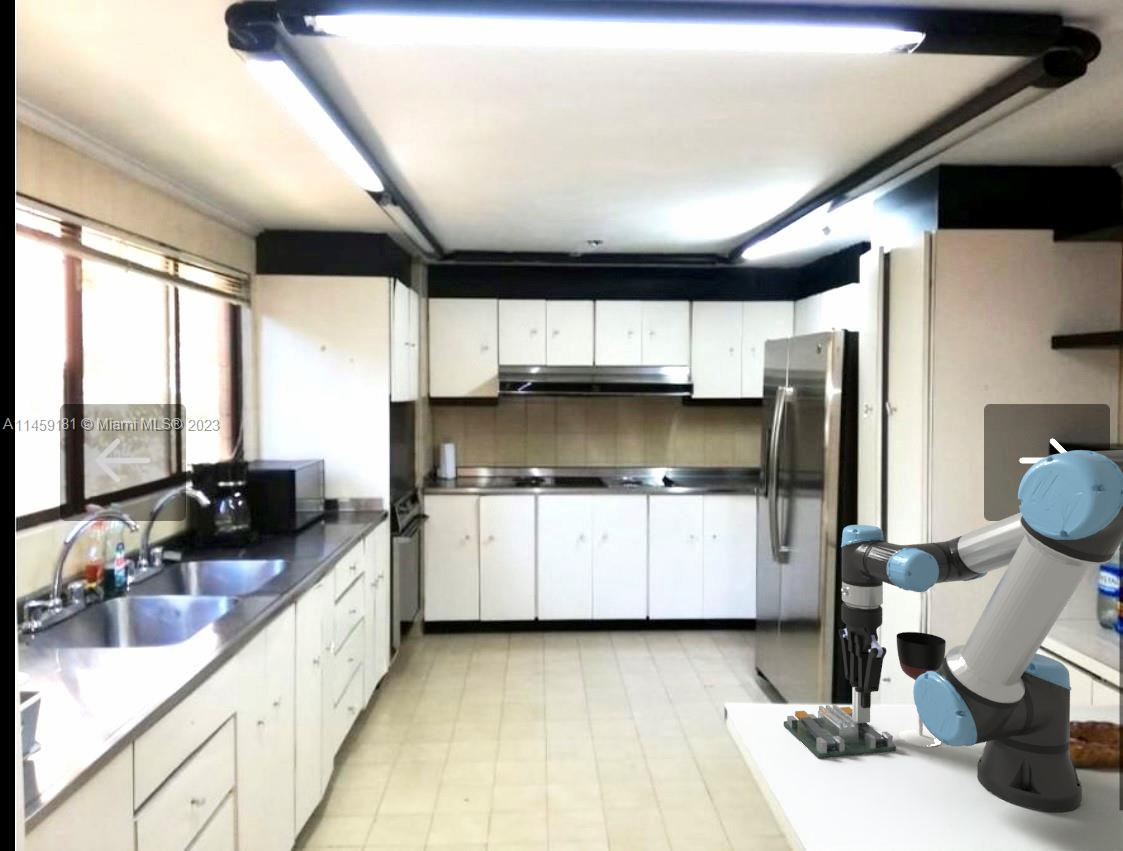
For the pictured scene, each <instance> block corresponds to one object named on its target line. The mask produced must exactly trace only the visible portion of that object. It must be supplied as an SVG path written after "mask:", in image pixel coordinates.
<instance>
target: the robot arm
mask: <svg viewBox="0 0 1123 851" xmlns="http://www.w3.org/2000/svg"><path fill="white" fill-rule="evenodd" d="M1017 499H1018V501H1019V500H1020V503H1021V504H1019V506H1018V509H1019V512H1017V513H1016V514H1013V515H1010V516H1008V517H1006V518H1003V519H1000V520H998V521H995V522H993V523H991V524H988V525H985V526H982V527H979V528H977V529H975V530H972V531H970V532H967V533H964V534H963V535H959V536H957V537H954V538H952V539H950V540H946V541H939V542H927V543H926V542H925V543H916V544H915V543H914V544H897V543H891V542H888V541H885V538H884V531H883V529H881V528H880V527H878V526H874V525H868V524H867V525H866V524H851V525H847V526H845V527H844V528H843V530H842V537H841V545H840V547H841V589H840V591H841V600H842V601H843V602H842V603H841V620H842V623H844V624H845V628H840V629H838V635H839V638H840V641H841V650H842V659H843V670H844V677H845V679H846V680H849V684H850V686H851V698H852V702H851V703H852V704H851V705H852V707H851V709H852V718H854V719H855V720H856V721H857V723H867V724H868V723H871V705H872V692H873V693H874V692H878V691H879V690H880V682H881V676H882V670H883V663H884V658H885V656H886V654H887V648H886V647H884V646H881V645H880V644H879V642H878V641H879V636H878V631H877V629H878V628H879V627H881V626H882V625H883V607H882V605H883V603H884V597H883V596H884V591H883V590H884V587H883V586H884V585H883V584H884V583H886V584H888V585H892V586H895V587H897V588H899V589H902V590H904V591H907V592H909V591H910V592H911V591H912V592H915V593H925V592H928V590H930V589H931V588H932V587H933V586H935V584H942V583H949V582H951V583H952V582H960V581H961V582H970V581H973V580H977V579H981V578H983V577H985V576H987V574H988V573H989V572H991V571H995V570H997V569H1001V568H1004V567H1007V568H1006V569H1005V571H1004V573H1003V575H1002V576H1001V578H1000V580H999V581H998V584H997V585H996V587H995V590H994V591H993V593H992V595H991V596H990V598H989V600H988V601H987V604H986V606H985V607H984V609H983V611H982V612H981V615H980V616H979V618H978V620H977V622H976V623H975V625H974V627H973V629H972V630H971V633H970V634H969V636H968V638H967V639H966V642H965V643H964V645H963V644H962V645H955V646H953V647H951V648H950V649H949V650H948V652H947V653H946V654H945V657H944V660H943V662H942V664H941V666H940V667H939V669H938V670H936V671H927V672H926V673H924V674H921V675H920V676H919V677H918V678H917V679H916V680H914V681H915V682H914V685H913V690H912V691H913V692H912V693H913V695H912V696H913V701H914V704H915V707H916V711H917V714H919V716H920V718H921V720H922V722H923V726H925V728H926V729H927V731H928V733H931V734H932V735H933V736H934V737H935V738H937V739H938V740H939V741H941V742H942V744H944V745H947V746H951V747H972V746H974V745H977V744H982V743H985V744H984V748H983V753H982V756H980V757H979V759H978V762H977V765H976V767H977V768H976V770H977V772H976V773H977V774H976V777H977V780H978V782H979V784H980V785H981V786H982V787H983V788H984V789H985V790H987V791H988V792H989V793H991V794H993V795H995V797H996V796H997V797H998V798H1000V799H1002V800H1005V801H1007V802H1009V803H1012V804H1014V805H1017V806H1021V807H1024V808H1027V809H1033V810H1038V811H1043V812H1056V813H1057V812H1068V811H1073V810H1075V809H1078V808H1079V807H1080V806H1081V805H1082V803H1083V787H1082V784H1081V781H1080V779H1079V778H1078V772H1077V770H1076V766H1075V764H1074V761H1073V758H1072V756H1071V752H1070V751H1071V750H1070V738H1071V737H1070V736H1071V735H1070V729H1071V728H1070V727H1071V724H1070V723H1071V721H1070V720H1071V719H1070V718H1071V717H1070V716H1071V691H1072V686H1071V683H1070V682H1071V679H1070V670H1069V669H1068V667H1067V666H1066V665H1064V664H1063V663H1061V662H1060V661H1058V660H1056V659H1054V658H1051V657H1049V656H1046V655H1044V654H1039V653H1037V652H1038V650H1040V648H1041V645H1042V644H1043V643H1044V641H1045V639H1046V638H1047V636H1048V635H1049V633H1050V632H1051V630H1052V628H1053V627H1054V625H1055V623H1056V622H1057V620H1058V618H1059V617H1060V615H1061V614H1062V612H1063V611H1064V609H1065V607H1066V606H1067V604H1068V603H1069V601H1070V599H1071V598H1072V596H1073V595H1074V593H1075V592H1076V590H1077V588H1078V586H1079V585H1080V583H1081V582H1082V581H1083V579H1084V577H1085V575H1086V574H1087V572H1088V571H1089V569H1090V567H1091V566H1095V565H1104V564H1106V563H1108V562H1110V561H1111V559H1112V557H1113V556H1114V555H1115V553H1116V552H1117V551H1118V549H1119V547H1120V545H1121V544H1122V542H1123V449H1119V450H1118V449H1117V450H1096V451H1092V450H1085V449H1084V450H1083V449H1080V450H1079V449H1077V450H1076V449H1075V450H1070V451H1064V452H1060V453H1056V454H1051V455H1049V456H1046V457H1044V458H1041V459H1039V460H1038V461H1037V462H1035V463H1034V464H1033V465H1031V466H1030V467H1029V468H1028V469H1027V471H1026V472H1025V473H1024V475H1023V477H1022V479H1021V481H1020V484H1019V487H1018V491H1017ZM1081 802H1082V803H1081ZM1080 804H1081V805H1080ZM1077 807H1078V808H1077Z"/></svg>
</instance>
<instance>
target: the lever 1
mask: <svg viewBox="0 0 1123 851" xmlns="http://www.w3.org/2000/svg"><path fill="white" fill-rule="evenodd" d="M808 714H809V713H807V711H806V710H795V712H794V717H795V718H796V719H797V720H799V721H800V722H801V723H802V724H803V725H804V726H805V727H806V728H807V729H808V731H809V732H810V733H811V734H812V735H813V736H814V737H815V738H820V737H821V738H823V739H824V740H825V741H826V742H827V749H830V748H835V742H834V741H833V740H832V739H831V738H830V737H829V736H828V735H827V734H826V733H825V732H824V731H823V730H822V728H821V727H820V726H819V725H818V724H817V723H816V722H815V721H814V720H813V719H812V718H811V717H810V716H809V715H808Z"/></svg>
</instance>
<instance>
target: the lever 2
mask: <svg viewBox="0 0 1123 851" xmlns="http://www.w3.org/2000/svg"><path fill="white" fill-rule="evenodd" d="M839 708H841V709H842V710H843V711H845V712H846V713H847V714H848V715H850V716H851V717H852V707H850V706H841V707H839ZM857 726H858V730H859V731H860V732H861V733H862V734H863V735H865V733H870V734H871V735H873V736H874V737H875V738H876V744H883V741H884V738H882V737H881V736H880V735H879V734H880V733H879V732H878V731H877V730H876V729H874V728H873V727H872V726H871V725H869V723H868V722H867V723H857ZM876 731H877V732H878V733H879V734H878V733H877V732H876Z"/></svg>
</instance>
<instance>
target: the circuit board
mask: <svg viewBox="0 0 1123 851" xmlns="http://www.w3.org/2000/svg"><path fill="white" fill-rule="evenodd" d="M807 714H808V715H809V716H810V717H811V718H812V719H813V720H814V721H815V722H816V723H817V724H818V725H819V726H820V727H821V728H822V730H823V731H824V732H825V733H826V734H827V735H828V736H829V737H830V738H831V739H832V740H833V741H834V742H835V748H830V749H827V742H826V741H825V740H824V739H823V738H821V737H820V738H815V737H814V736H813V735H812V734H811V733H810V732H809V731H808V729H807V728H806V727H805V726H804V725H803V724H802V723H801V722H800V721H799V720H798V719H797V717H796V716H795V715H787V716H786V719H787V720H785V721H783V727H784V728H785V729H786V730H787V731H788V732H789V733H791V734H792V736H794V737H795V739H797V740H798V741H799V742H800V741H801V742H802V743H803V744H804V745H805V746H806V747H807V748H808V751H809V752H810V753H812V754H813V756H815V757H816V758H817V759H818V760H820V758H821V759H829V758H830V757H832V758H841V757H851V756H861V755H870V754H871V755H872V754H881V753H892V752H897V745H896V744H894V736H893V735H892V734H890V733H889V732H888V731H881V733H880V732H878V731H877V730H875V731H876V732H877V733H878V734H879V735H880V736H881V737H882V738H884V741H883V744H876V738H875V737H874V736H873V735H871V734H870V733H865V735H863V734H862V733H861V732H860V731H859V730H858V726H857V721H856V720H855V719H854V718H852V717H851V716H850V715H848V714H847V713H846V712H845V711H843V710H842V709H841V708H840V707H839V706H838V705H836V704H832V706H830V705H829V704H827V705H825V707H824V706H823V705H818V710H817V715H815V714H814V713H807ZM801 742H800V743H801ZM802 743H801V744H802ZM803 744H802V745H803ZM804 745H803V746H804ZM805 746H804V747H805ZM806 747H805V748H806ZM807 748H806V749H807Z"/></svg>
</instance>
